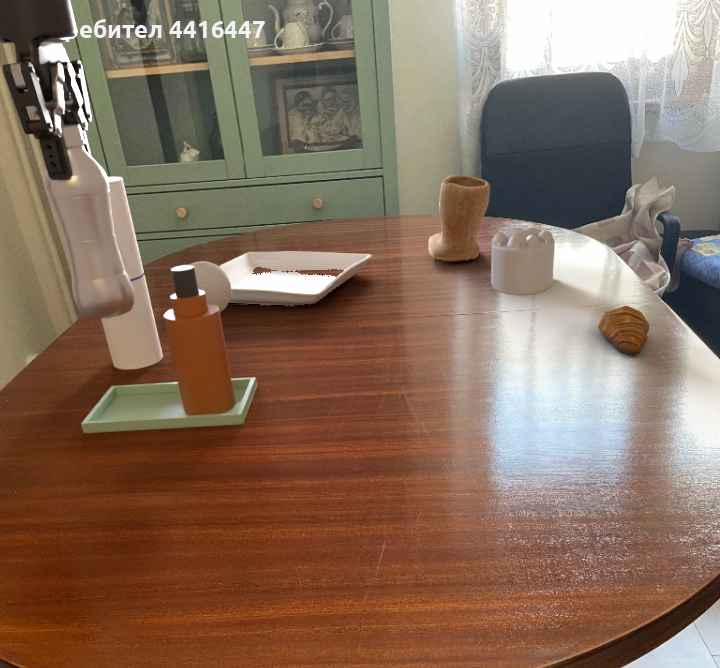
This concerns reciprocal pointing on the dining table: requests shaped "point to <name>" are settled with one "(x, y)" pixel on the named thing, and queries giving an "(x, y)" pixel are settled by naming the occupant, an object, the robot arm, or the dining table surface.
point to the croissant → (625, 329)
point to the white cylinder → (213, 283)
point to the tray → (161, 408)
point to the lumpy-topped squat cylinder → (522, 261)
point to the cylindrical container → (137, 327)
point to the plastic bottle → (89, 233)
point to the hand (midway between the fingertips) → (72, 173)
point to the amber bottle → (198, 347)
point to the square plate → (288, 276)
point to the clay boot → (459, 218)
